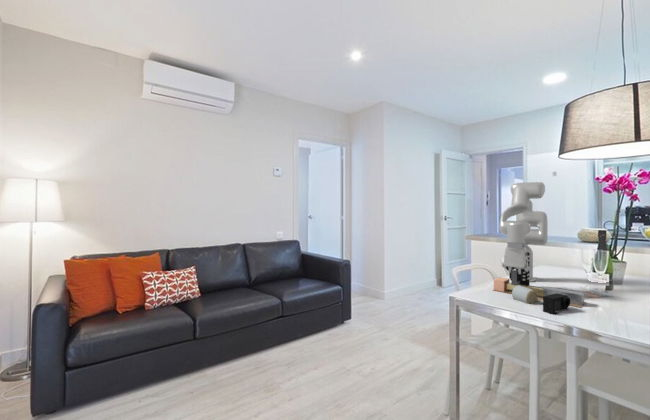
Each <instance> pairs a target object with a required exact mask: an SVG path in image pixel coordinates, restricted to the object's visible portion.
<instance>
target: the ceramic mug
mask: <svg viewBox="0 0 650 420" xmlns="http://www.w3.org/2000/svg"><path fill="white" fill-rule="evenodd" d="M511 297H512V299H513V300H515V301H518V302H521V303H525V304H529V305H530V304H536V303H538V302H539V300H538V299H537V293H536V292H535V291H533V290H531V289H528V288H526V287H523V286H520V285H517V286H515V287H514V289H513V291H512V294H511Z"/></svg>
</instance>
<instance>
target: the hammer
mask: <svg viewBox="0 0 650 420" xmlns="http://www.w3.org/2000/svg"><path fill="white" fill-rule="evenodd" d="M517 274H518V271H516V270H513V271H511V280H510V281H511V282H509V283H508V282H505V289H508V290H513V289H514V287H515V286H517V285H520V284H519V282H518V281H517ZM520 286H523V287H526V288H528V289H531V290H533V291H535V292H536V293H537V295H540V296H543V288H541V287H536V286H531V285H529V286H526V285H520Z"/></svg>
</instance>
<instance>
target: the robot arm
mask: <svg viewBox="0 0 650 420" xmlns="http://www.w3.org/2000/svg"><path fill="white" fill-rule="evenodd" d="M545 192H546V186H545V184H544V182H541V181H539V182H537V181H536V182H534V181H533V182H516V183H513V184H512V185H511V186H510V193H511V195H512V197H511V203H510V204H511V205H509V206H508V207H507V208H506V209H505V210H504V211H503V212H502V214H501V215H500V219H499V227H498V229H499V232H500V233H501V234H503V235H506V237H507V238H506V240H507V243H506V244H507V245H506V247H505V250H504V258H503V263H502V264H501V267H502V268H505V270H507V271H508V273H509V275H508V276H509V278H508V279H509V281H511V271H513V267H515V268H518V274H517V281H518V282H519V281H521V280H522V273H523V272H525V271H528V270H530V275H529V283H531V282H536V280H537V278H535V277H533V276H534V251H533V250H532V248H531V247H530V246H529V245H532V246H533V245H534V246H543V245H544V246H545V245H546V244H547V243H548V231H549V230H548V224H549V223H548V215H547V213H546V212H545V211H541V210H540V211H537V210H536V211H534V210H533V202H532V201H531V199H535V200H536V199H538V200H539V199H542V198H543V197H544V195H545ZM513 216H515V220H508V219H510V218H512V217H513ZM527 252H529V253H530V268H529V266H528V257H527ZM522 268H525V269H522Z"/></svg>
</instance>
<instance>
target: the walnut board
mask: <svg viewBox="0 0 650 420" xmlns="http://www.w3.org/2000/svg"><path fill="white" fill-rule="evenodd" d="M491 291H493V292H497V293H498V292H499V293H503V294H507V295H512V291H513V290H506V291H504V292H503V291H498V290H494V289H492V290H491ZM537 299H538V301H542V302H543V296H540V295H537ZM586 304H587V301H584V304H583V306H578V305H573V304H570V306H569V307H573V308H578V309H582V308H584V306H585V305H586Z"/></svg>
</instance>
